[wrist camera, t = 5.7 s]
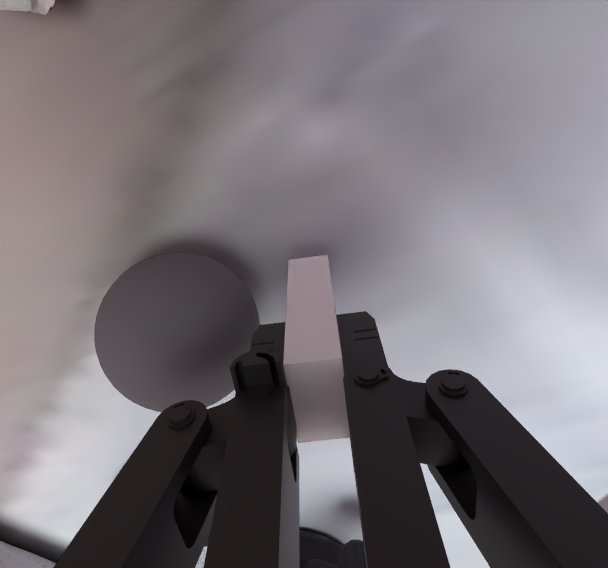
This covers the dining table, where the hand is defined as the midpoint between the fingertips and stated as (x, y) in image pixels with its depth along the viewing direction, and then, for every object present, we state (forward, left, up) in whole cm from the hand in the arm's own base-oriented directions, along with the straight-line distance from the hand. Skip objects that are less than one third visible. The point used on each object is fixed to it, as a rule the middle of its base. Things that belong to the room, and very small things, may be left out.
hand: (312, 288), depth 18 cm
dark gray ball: (+5, +1, +1) cm, 5 cm away
